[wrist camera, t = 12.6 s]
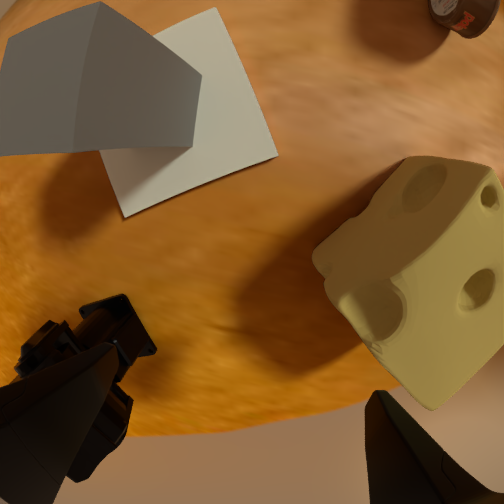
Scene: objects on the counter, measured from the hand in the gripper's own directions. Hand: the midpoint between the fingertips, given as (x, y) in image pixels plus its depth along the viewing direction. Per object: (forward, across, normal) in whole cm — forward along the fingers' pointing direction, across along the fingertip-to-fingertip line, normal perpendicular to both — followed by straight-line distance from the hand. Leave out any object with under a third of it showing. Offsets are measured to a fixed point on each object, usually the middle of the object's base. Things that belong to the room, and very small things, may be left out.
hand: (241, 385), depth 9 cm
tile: (+13, +8, -9) cm, 18 cm away
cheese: (+13, -10, -2) cm, 17 cm away
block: (+12, +8, -9) cm, 17 cm away
